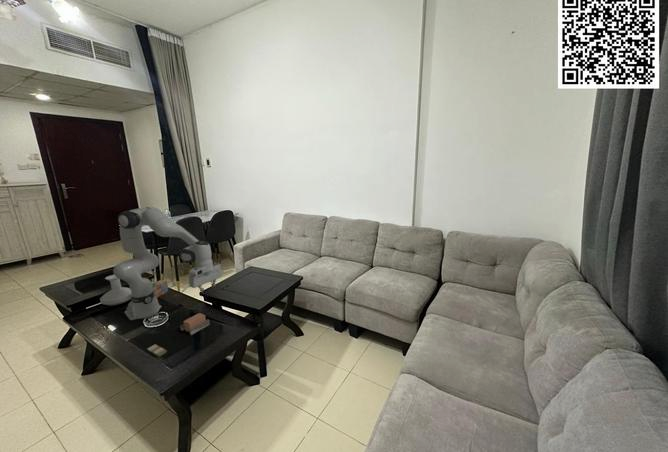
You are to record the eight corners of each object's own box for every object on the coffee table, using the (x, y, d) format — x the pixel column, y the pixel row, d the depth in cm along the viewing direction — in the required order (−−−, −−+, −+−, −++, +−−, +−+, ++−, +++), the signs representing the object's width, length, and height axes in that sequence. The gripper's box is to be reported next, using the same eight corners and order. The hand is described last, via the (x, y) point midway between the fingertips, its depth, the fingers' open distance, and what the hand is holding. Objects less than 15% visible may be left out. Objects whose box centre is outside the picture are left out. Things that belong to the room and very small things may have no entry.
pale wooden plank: (147, 350, 139) (146, 343, 138) (202, 319, 166) (201, 314, 165) (159, 356, 134) (157, 349, 133) (213, 324, 161) (213, 318, 160)
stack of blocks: (162, 290, 209) (159, 276, 206) (168, 291, 208) (166, 276, 205) (137, 304, 188) (134, 288, 186) (145, 304, 187) (142, 288, 185)
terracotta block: (184, 330, 153) (183, 321, 152) (200, 321, 162) (199, 312, 161) (190, 332, 151) (189, 323, 150) (206, 324, 159) (205, 315, 158)
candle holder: (135, 292, 207) (130, 269, 203) (137, 301, 192) (132, 277, 187) (101, 300, 194) (96, 276, 190) (100, 311, 179) (94, 285, 175)
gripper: (216, 261, 169) (218, 281, 172) (186, 272, 152) (189, 294, 154) (223, 262, 166) (225, 283, 169) (192, 274, 149) (196, 296, 151)
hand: (208, 288), depth 162 cm, fingers open, 6 cm apart
